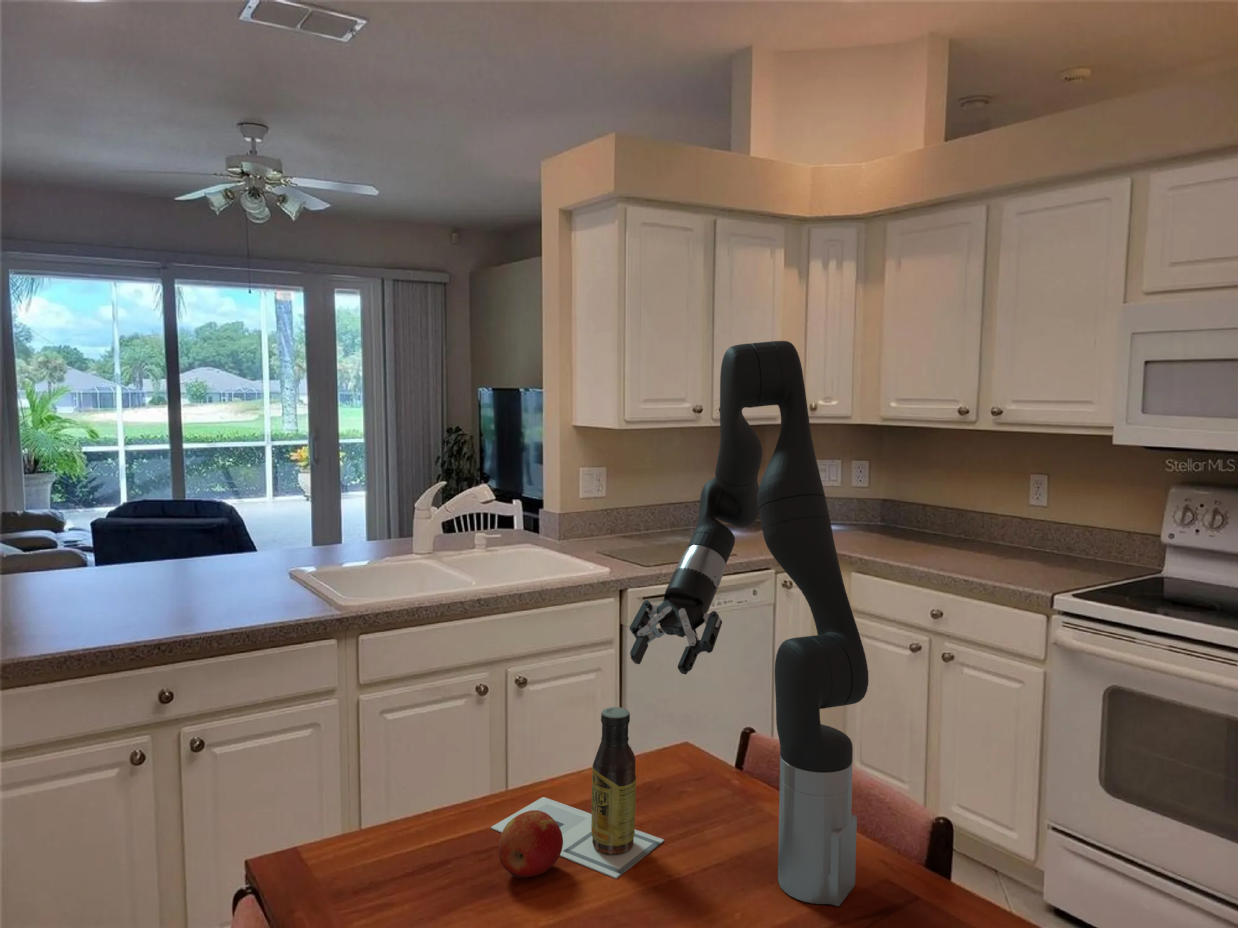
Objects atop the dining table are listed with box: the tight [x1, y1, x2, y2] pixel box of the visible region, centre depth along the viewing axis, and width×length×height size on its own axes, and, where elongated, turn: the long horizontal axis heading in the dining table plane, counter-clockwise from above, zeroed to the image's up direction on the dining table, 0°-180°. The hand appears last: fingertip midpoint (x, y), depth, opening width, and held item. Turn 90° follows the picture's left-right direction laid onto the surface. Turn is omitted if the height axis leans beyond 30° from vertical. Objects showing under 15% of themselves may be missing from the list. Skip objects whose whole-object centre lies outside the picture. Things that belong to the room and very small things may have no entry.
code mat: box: [490, 796, 665, 880], centre depth 124 cm, size 23×12×1 cm, turn 55°
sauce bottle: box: [591, 706, 637, 855], centre depth 119 cm, size 7×6×20 cm
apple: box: [497, 810, 563, 879], centre depth 113 cm, size 8×8×8 cm
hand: (657, 666), depth 129 cm, fingers open, 8 cm apart
